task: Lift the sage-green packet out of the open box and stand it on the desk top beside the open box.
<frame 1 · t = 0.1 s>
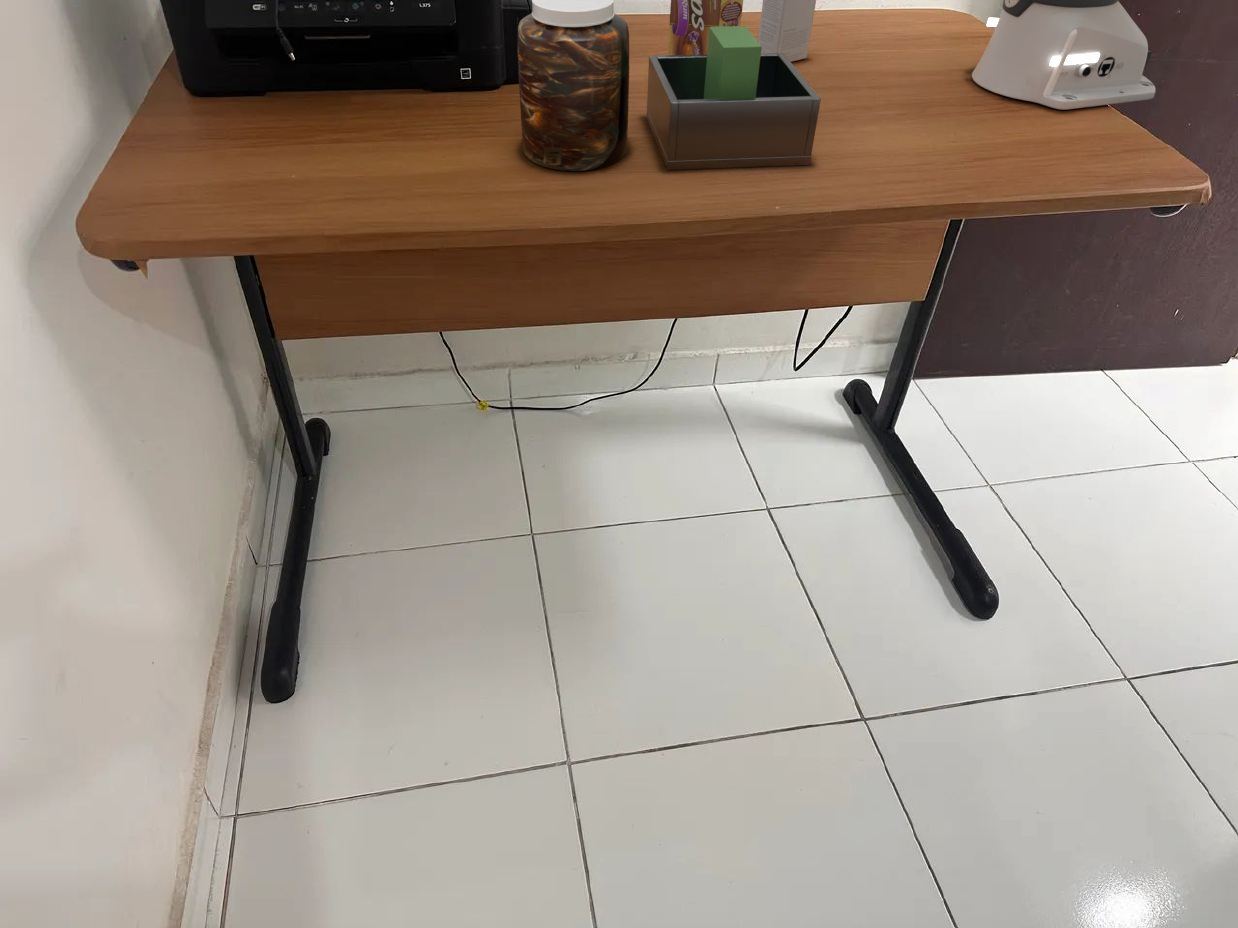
cosmetic box: (781, 61, 119), on the table
candy box: (699, 83, 112), on the table
green packet: (725, 131, 97), point 1 cm above the table, touching open box
open box: (724, 140, 98), on the table
jar: (575, 150, 95), on the table
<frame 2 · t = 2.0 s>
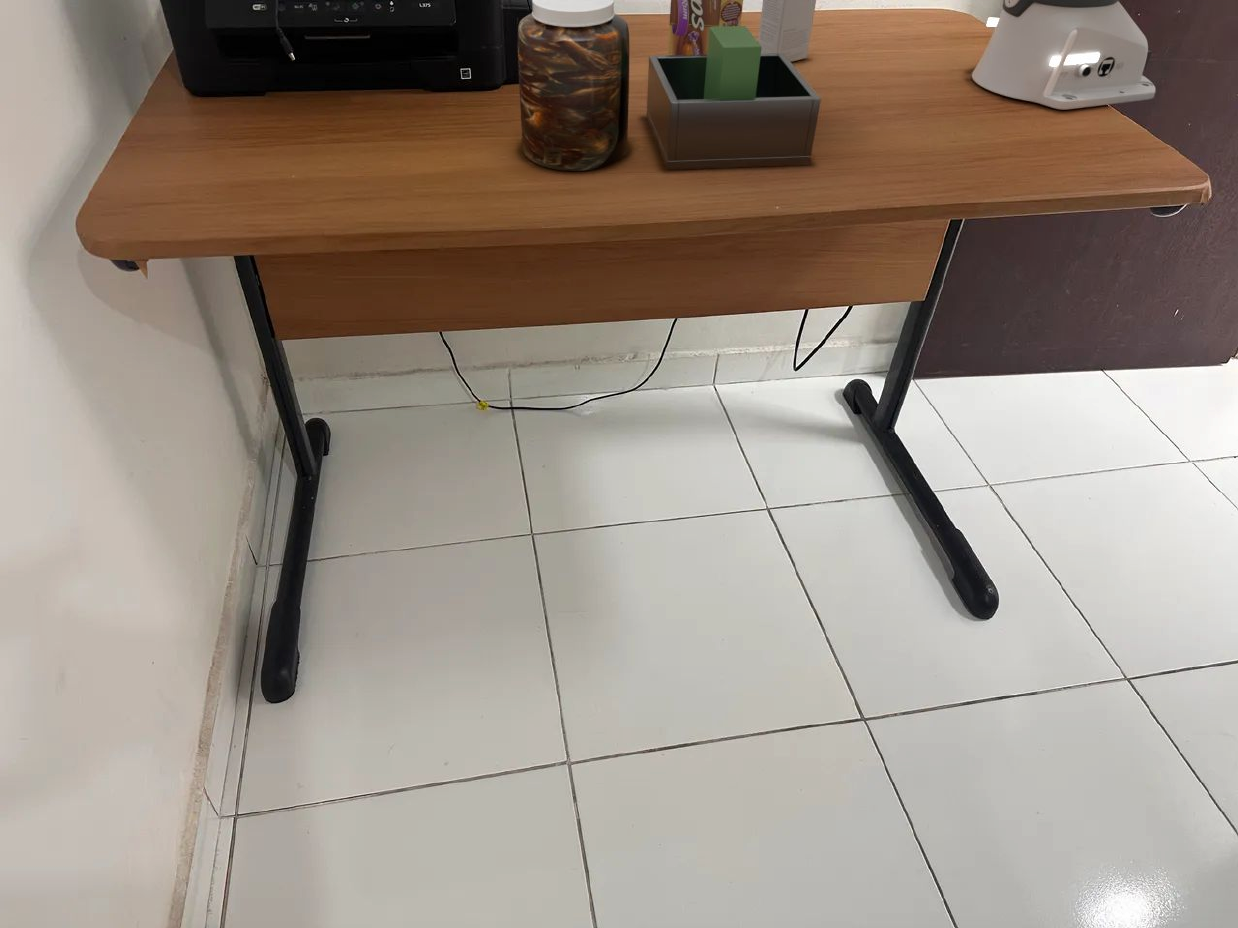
nothing on the table moved.
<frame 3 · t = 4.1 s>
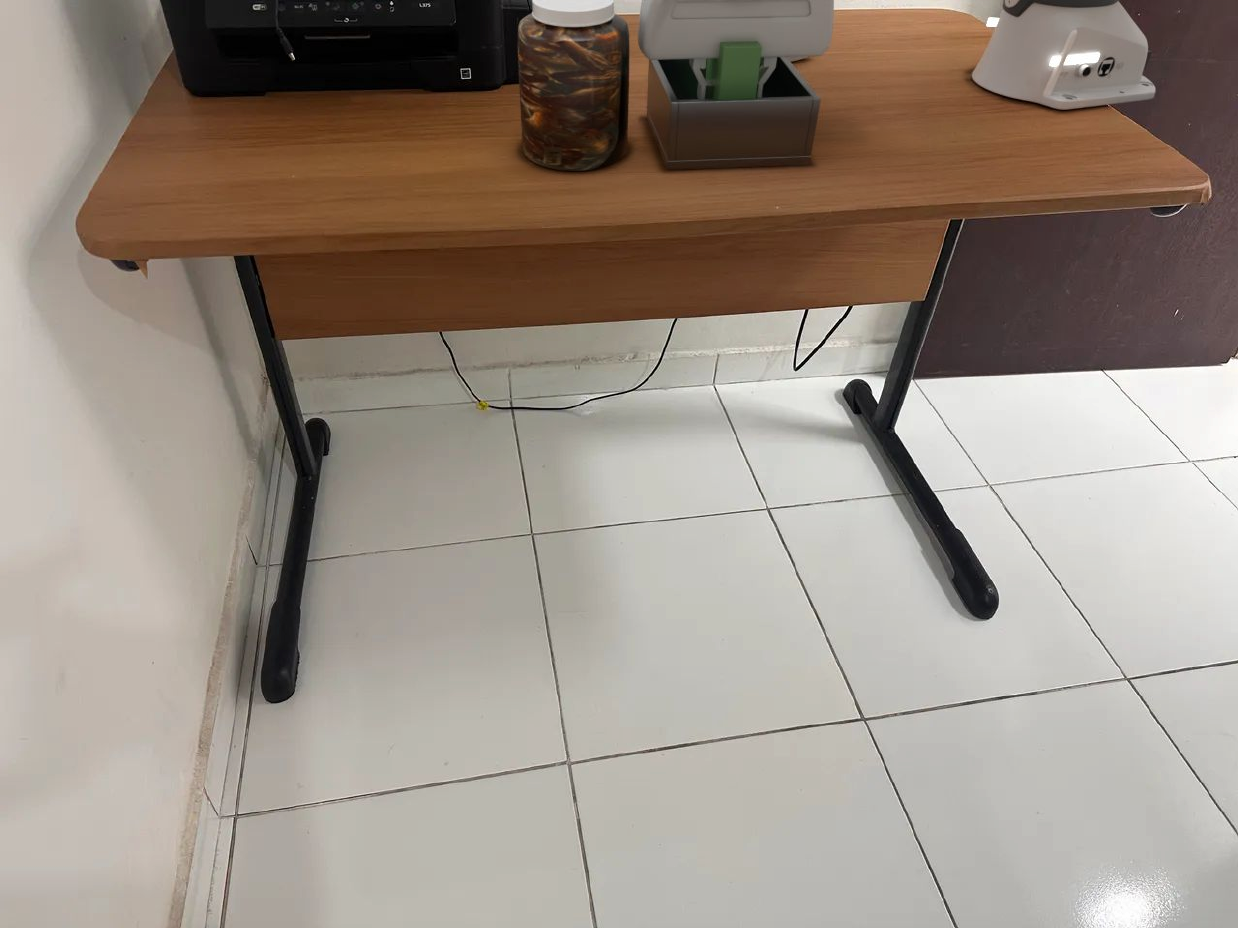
hand: (728, 98, 95), 5 cm above the table, tool pointing down, fingers closed on green packet, 4 cm apart
green packet: (725, 131, 97), point 1 cm above the table, touching gripper, open box
everything else where it was.
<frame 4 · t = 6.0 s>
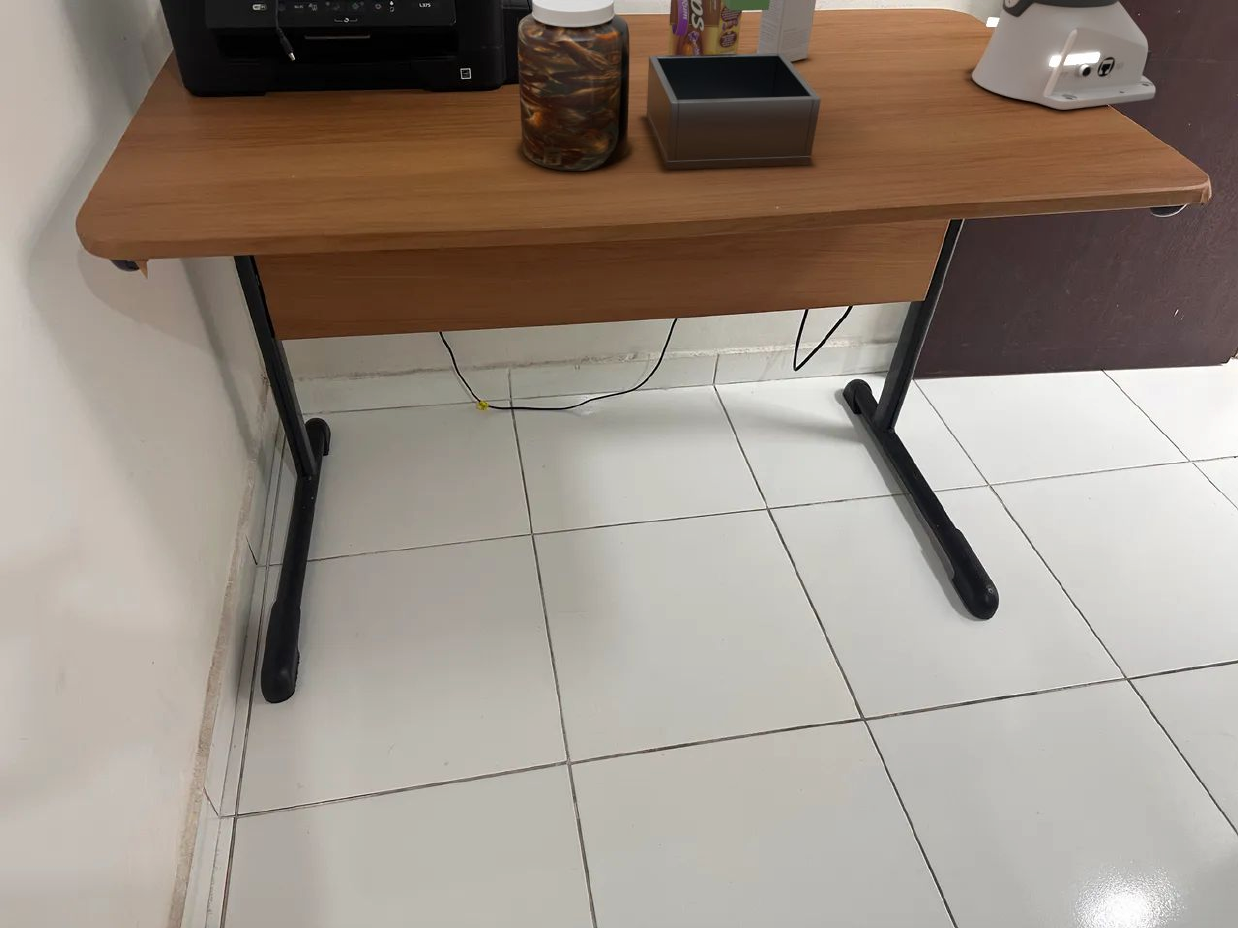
green packet: (741, 0, 88), point 14 cm above the table, touching gripper
everything else where it was.
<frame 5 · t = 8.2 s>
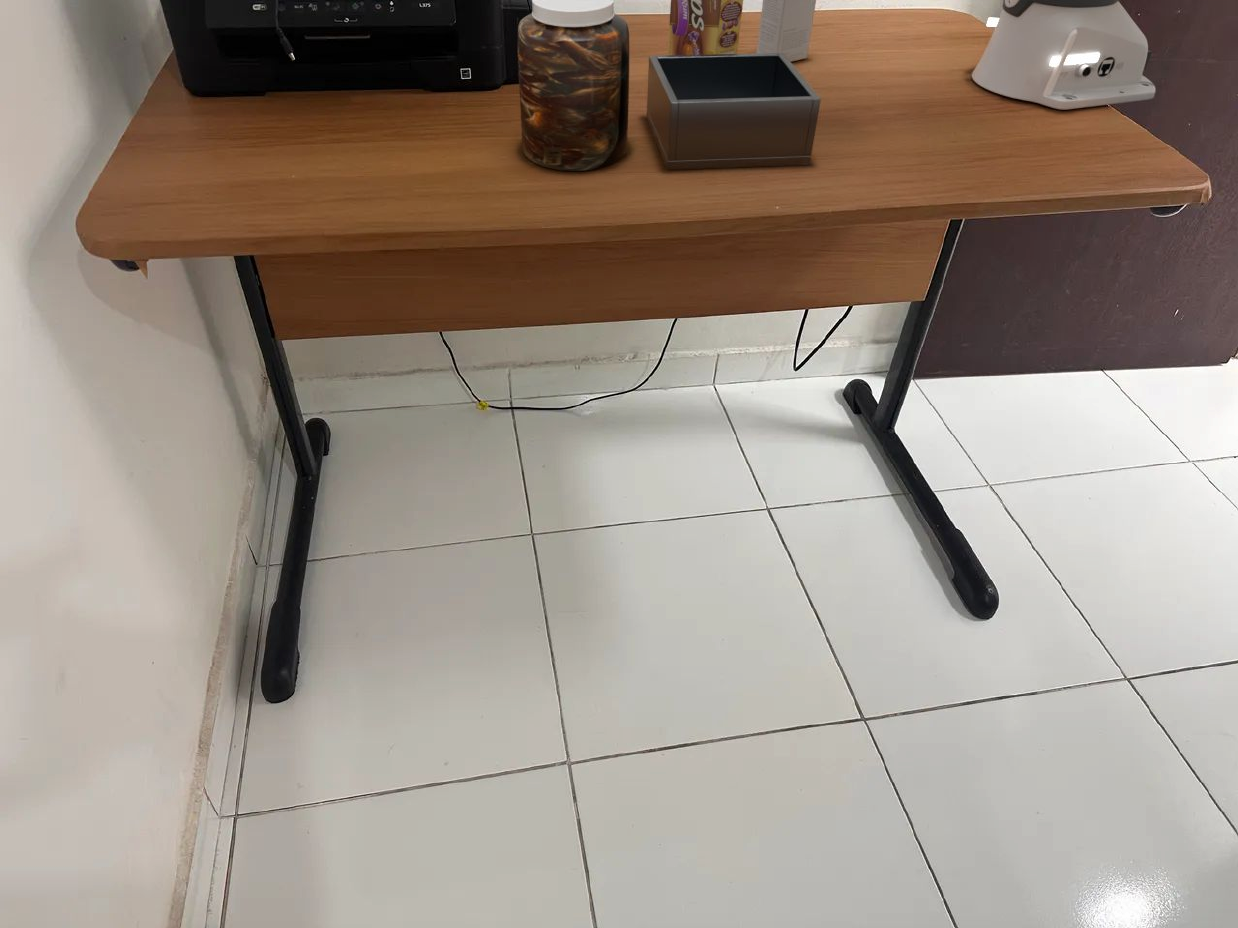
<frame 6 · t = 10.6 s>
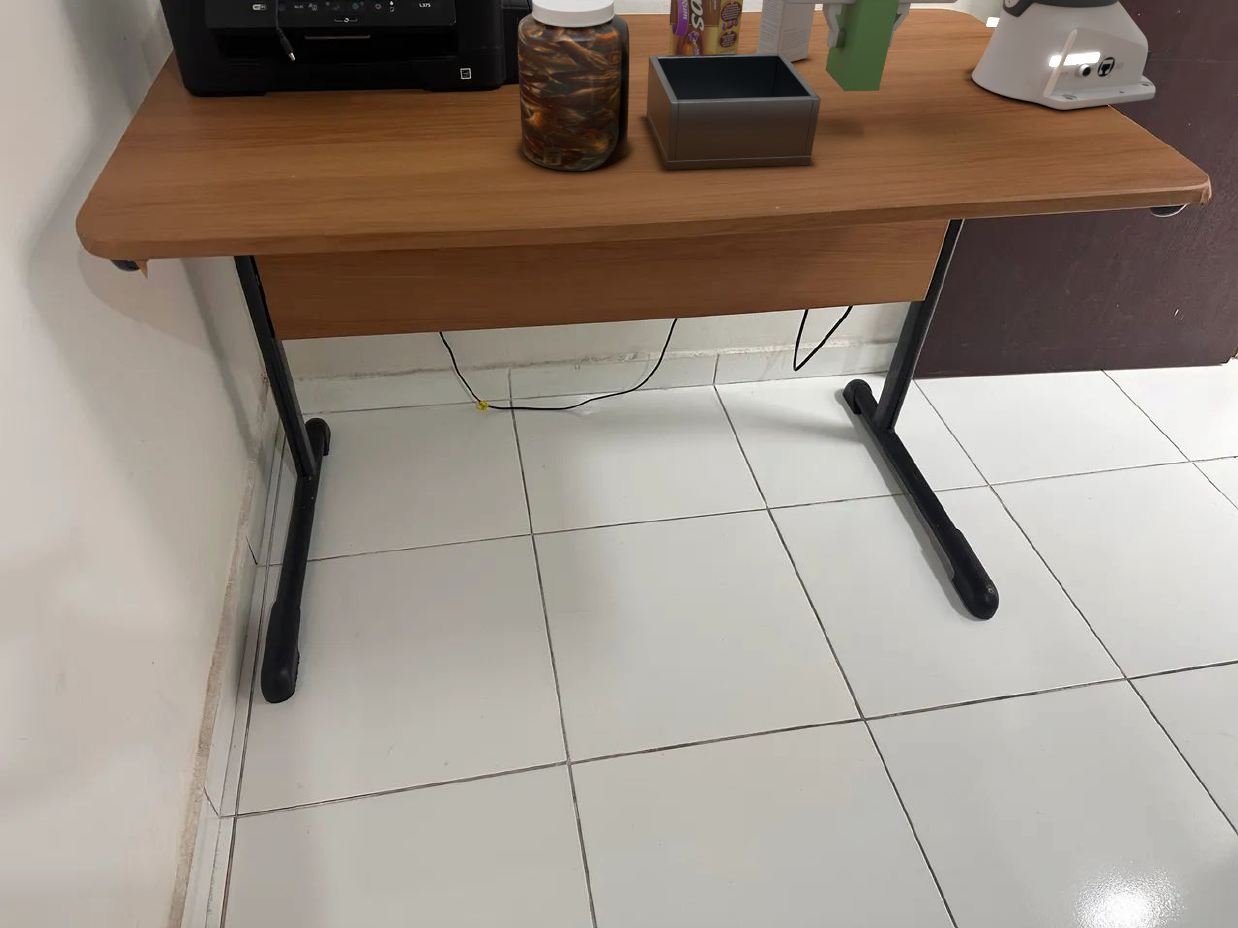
hand: (857, 46, 95), 9 cm above the table, tool pointing down, fingers closed on green packet, 4 cm apart
green packet: (851, 80, 98), point 5 cm above the table, touching gripper
everything else where it was.
when the fingers open (3 cm above the table, at t = 12.3 s): green packet stays where it is, on the table.
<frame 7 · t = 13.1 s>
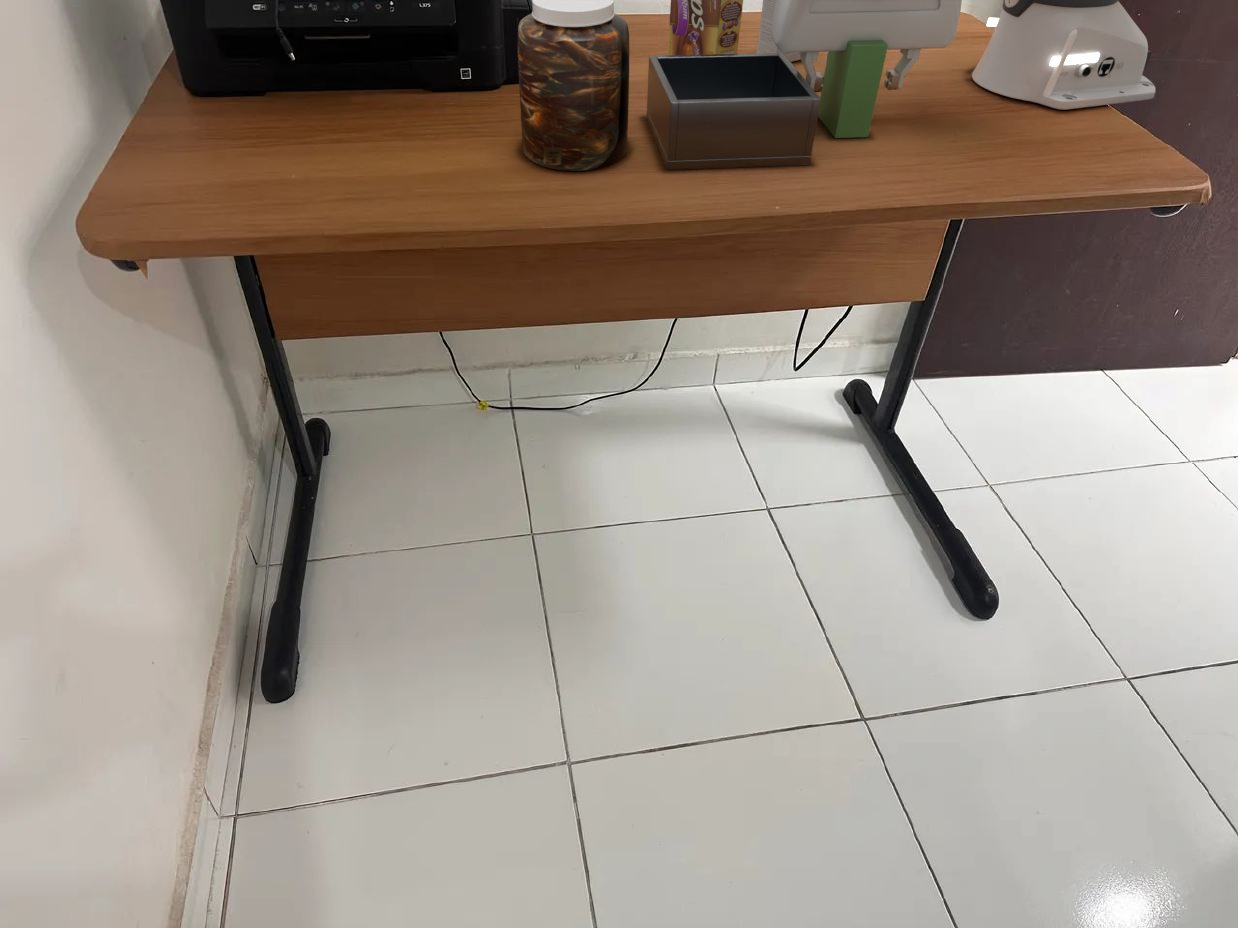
hand: (852, 89, 99), 4 cm above the table, tool pointing down, fingers open, 8 cm apart
green packet: (842, 126, 102), on the table
everything else where it was.
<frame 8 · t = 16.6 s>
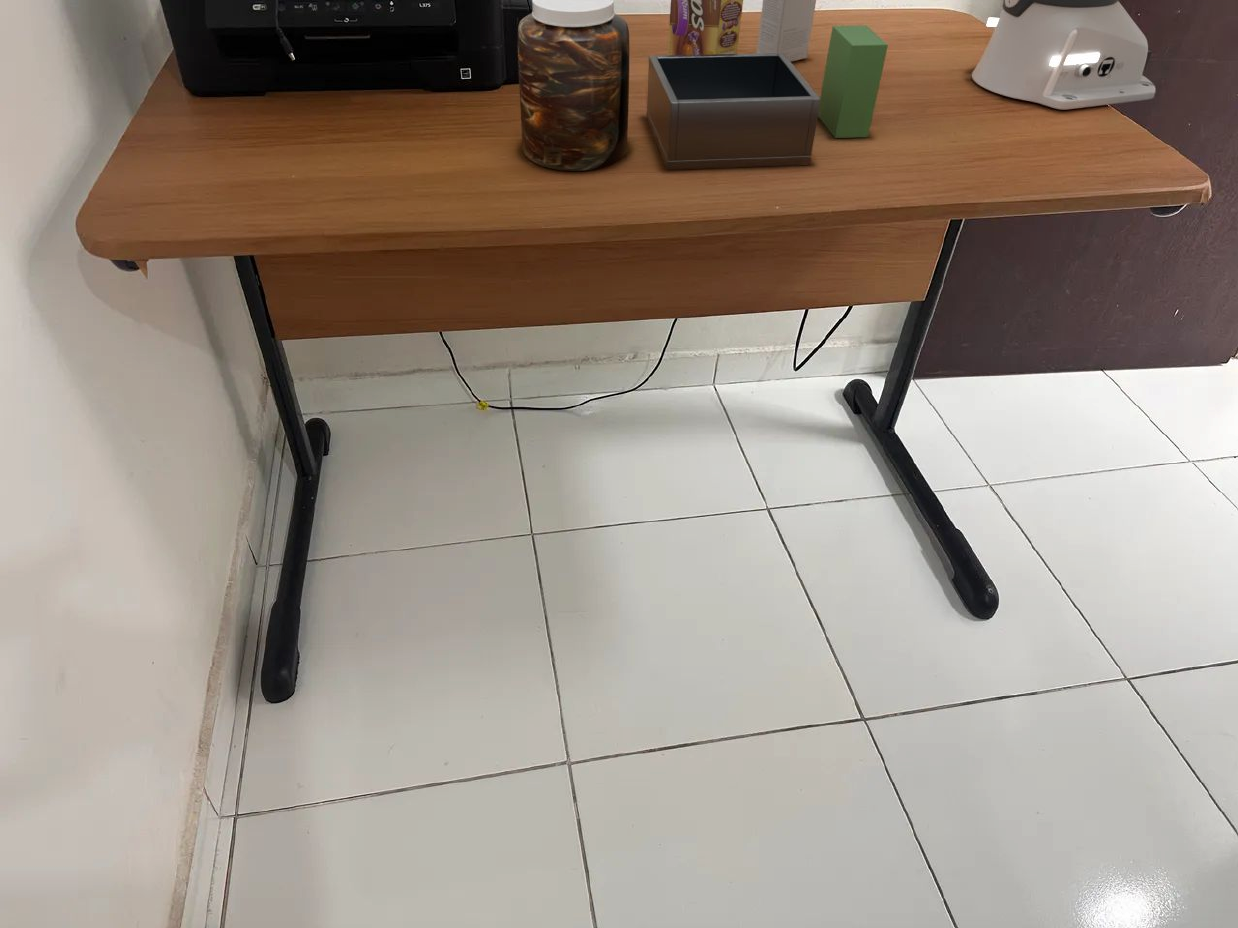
nothing on the table moved.
at the end: green packet inside the target area (0.2 cm from its centre), on the table; green packet touching table; green packet tilted 0° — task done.
